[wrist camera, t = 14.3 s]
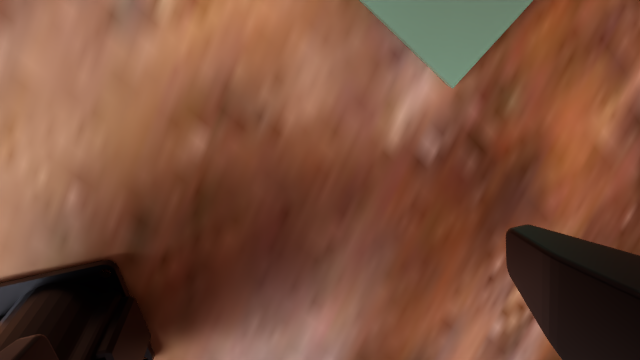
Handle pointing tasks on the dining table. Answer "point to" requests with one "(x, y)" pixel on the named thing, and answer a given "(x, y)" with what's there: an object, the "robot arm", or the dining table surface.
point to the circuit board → (448, 29)
